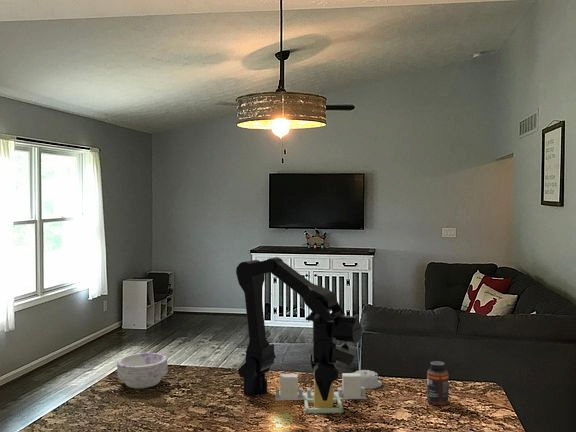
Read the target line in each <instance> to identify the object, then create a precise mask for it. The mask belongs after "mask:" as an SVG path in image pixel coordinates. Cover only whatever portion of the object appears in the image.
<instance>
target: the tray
mask: <svg viewBox="0 0 576 432" xmlns="http://www.w3.org/2000/svg"><path fill="white" fill-rule="evenodd" d="M341 400H342V399H340V398H333V404H337V406H338V407H333V408H314V407H310V406H309V404H314V399H304V400H303V404H304V409H305V413H306V414H331V413H332V414H334V413H335V414H340V413H341V414H343V413H344V412H345V411H344V405H343V404H342V401H341Z"/></svg>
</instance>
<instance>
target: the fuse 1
mask: <svg viewBox="0 0 576 432" xmlns="http://www.w3.org/2000/svg"><path fill="white" fill-rule="evenodd" d="M279 376H280V377H279V382H280V384H279V393H280V398H298V393H299V376H298V373H280V374H279Z"/></svg>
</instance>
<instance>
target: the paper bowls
mask: <svg viewBox="0 0 576 432" xmlns="http://www.w3.org/2000/svg"><path fill="white" fill-rule="evenodd" d="M167 357H168V356H166V355H165V354H162V353H158V352H140V353H139V352H138V353H134V354H133V353H132V354H129V355H128V354H127V355H126V356H123V357H121V358H119V359H118V360H117V362H116V370H117V371H116V373H117V378H118V379H119V380H120V381H124V384H125V386H127V387H129V388H132V389H148V388H152V387H154V386H156V385H158V384H159V383H160V382H161V380H162V378H163V377H165V376H166V375H167V374H168V358H167Z"/></svg>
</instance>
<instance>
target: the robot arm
mask: <svg viewBox="0 0 576 432" xmlns="http://www.w3.org/2000/svg"><path fill="white" fill-rule="evenodd" d="M235 269H236V270H235V275H236V278H237V282H238V284H239V286H240V288H241V289H242V291H243V292H244V293H243V294H244V302H245V310H246V320H247V330H248V331H247V332H248V340H249V341H248V344H247V348H246V350H245V362H244V363H243V364H242V365H241V366H240V367H239V368H238V369H237V372H238V376H239V377H240V378H243V395H248V396H255V397H256V396H260V395H265V394H268V378H267V377H266V373H269V372H270V369H271V367H272V366H274V364H275V359H276V358H277V357H276V354H275V344H273V343H271V344H270V342H269V341H268V339H267V335H266V326H265V324H266V323H265V316H264V306H263V304H264V303H263V296H262V295H263V294H262V289H263V285H264V282H265V274H269V273H270V274H272V275H273V276H274V277H275V278H277V279H278V280H280V281H281V282H282V283H283V284H284V285H286V286H287V287H289V288H290V289H291V290H293V291H294V292H295V293H296V294H298V295H299V297H301V298H302V300H303V303H304V304H305V305H306V306H307V308H308V309H309V310H310V311H311V312H310V313H309V315H308V316H307V317H305V320H306V321H309V322H312V339H311V344H312V350H311V351H310V352H309V361H310V365H311V366H310V367H311V368H312V372H313V379H314V378H315V381H316V384H317V386H318V389H319V391H320V394H321V397H322V399H323V401H327V399H328V395H329V391H330V387H331V383H332V382H333V383H334V381H337V380H338V379H339V375H340V374H339V372H340V371H339V369H338V366H337V365H336V364H337V362H339V363H343V364H345V365H347V366H348V367H352V366H353V363H354V359H356V358H355V357H356V354H355V352H354V351H353V350H352V349H350V347H349V344H348V343H354V344H358V343H359V342H360V340H361V338H362V333H363V327H362V325H361V322H360V321H359V316H353V315H352V316H349V315H346V314H345V312H344V310H343V308H342V307H341V305H340V304H339V302H338V299H337V298H338V297H337V295H336V294H335V293H334V292H333V291H332V290H329V289H328V288H326V287H324V286H321V285H318V284H315V283H313V282H311V281H310V280H308V279H307V278H306V277H304V276H303V275H302V274H300V273H299V272H298V271H297V270H295V269H293V268H292V267H291V266H290V265H288V264H287V263H285V262H284V260H283V259H282V258H280V257H277V256H276V257H270V258H267V259H266V260H265V259H264V260H261V261H260V260H258V259H251V260H247V261H242V262H240V263H238V265H237V266H236V268H235ZM330 312H331V313H330ZM335 340H336V341H339V342H342V343H341V344H340V345H337V344H336V343H335ZM345 342H347V343H345Z"/></svg>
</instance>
